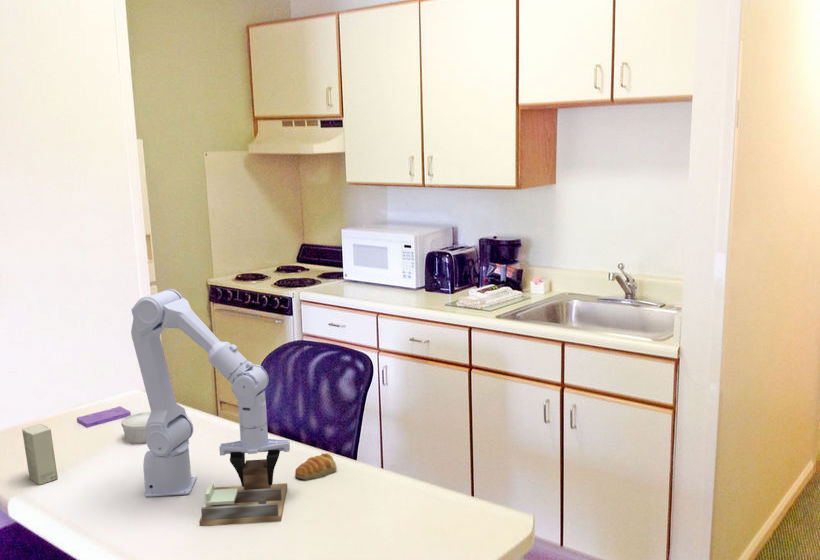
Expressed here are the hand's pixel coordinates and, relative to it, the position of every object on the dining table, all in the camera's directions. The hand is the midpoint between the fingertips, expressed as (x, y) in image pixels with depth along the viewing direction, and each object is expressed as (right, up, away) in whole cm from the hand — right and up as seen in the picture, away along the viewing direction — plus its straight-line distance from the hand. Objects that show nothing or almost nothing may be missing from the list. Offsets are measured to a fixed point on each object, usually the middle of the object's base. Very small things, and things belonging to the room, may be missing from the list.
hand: (257, 483), depth 161 cm
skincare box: (-52, -2, +12) cm, 53 cm away
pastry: (+11, -1, +11) cm, 16 cm away
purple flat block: (-53, +4, +50) cm, 73 cm away
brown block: (0, -2, 0) cm, 2 cm away
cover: (-5, -1, -8) cm, 10 cm away
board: (-2, -3, -4) cm, 6 cm away
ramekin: (-37, +2, +36) cm, 51 cm away
